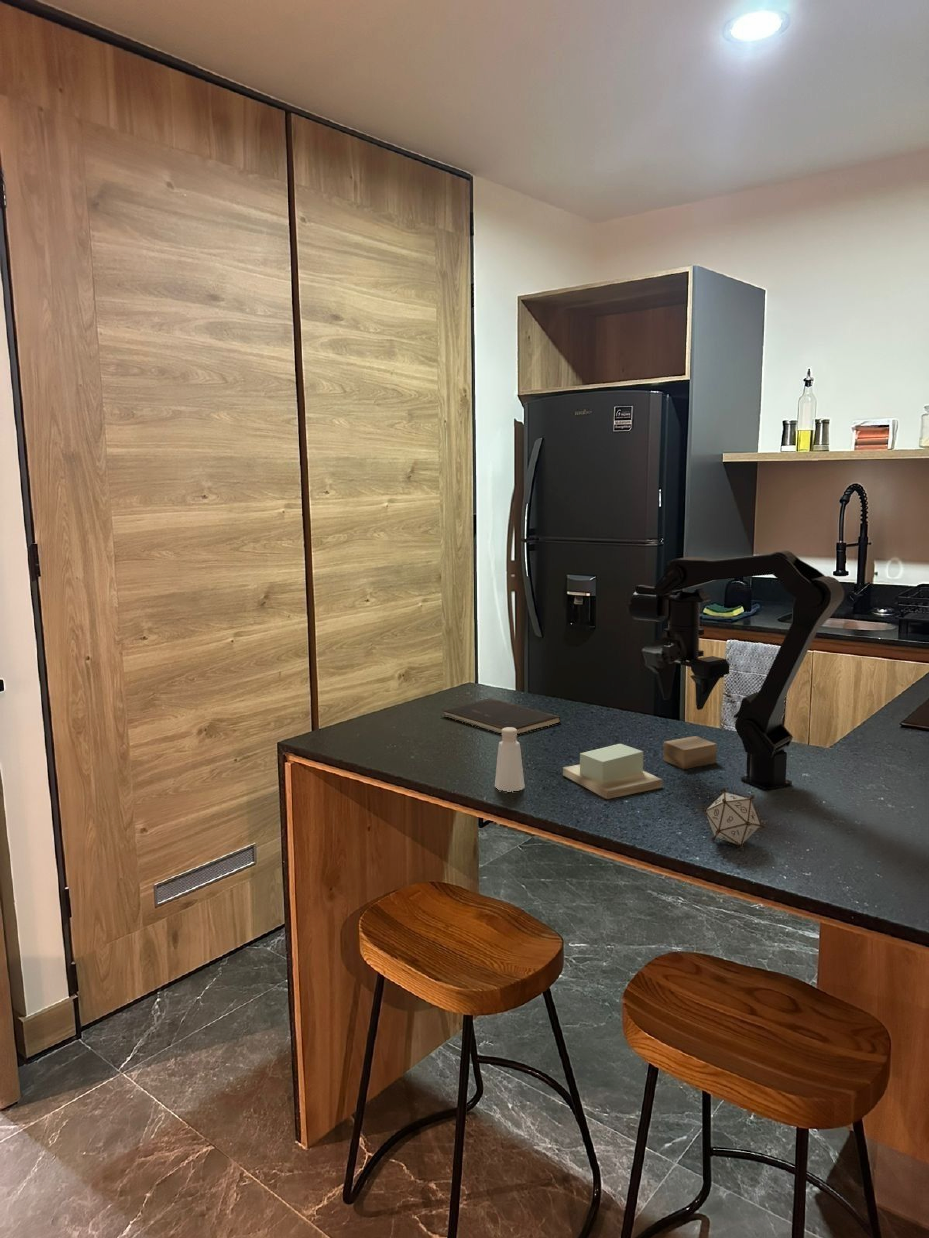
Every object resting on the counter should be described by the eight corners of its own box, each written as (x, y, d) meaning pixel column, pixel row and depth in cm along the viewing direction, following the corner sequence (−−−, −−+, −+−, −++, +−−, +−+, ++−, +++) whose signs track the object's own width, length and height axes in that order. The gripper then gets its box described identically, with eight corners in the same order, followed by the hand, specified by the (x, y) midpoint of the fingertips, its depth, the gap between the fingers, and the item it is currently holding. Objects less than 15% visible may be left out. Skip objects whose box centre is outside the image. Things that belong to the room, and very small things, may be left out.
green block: (642, 772, 160) (643, 751, 159) (602, 783, 154) (602, 761, 154) (619, 763, 165) (620, 743, 164) (579, 774, 159) (580, 753, 159)
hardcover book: (509, 740, 188) (509, 729, 187) (442, 719, 205) (441, 709, 205) (560, 725, 198) (560, 715, 198) (492, 706, 215) (492, 697, 215)
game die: (743, 865, 133) (787, 819, 130) (717, 862, 127) (763, 814, 124) (705, 821, 139) (747, 776, 136) (678, 817, 133) (721, 770, 130)
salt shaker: (488, 787, 158) (487, 728, 156) (510, 780, 161) (509, 722, 159) (508, 795, 154) (508, 735, 152) (530, 788, 157) (530, 729, 155)
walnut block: (716, 763, 169) (716, 743, 169) (683, 770, 166) (684, 750, 165) (695, 755, 175) (695, 735, 174) (663, 761, 171) (663, 741, 171)
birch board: (661, 787, 156) (662, 779, 156) (606, 799, 151) (606, 790, 151) (615, 765, 169) (615, 757, 168) (562, 775, 164) (563, 767, 163)
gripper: (618, 621, 169) (618, 700, 171) (685, 635, 153) (684, 721, 155) (662, 616, 174) (661, 692, 177) (732, 629, 158) (730, 712, 160)
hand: (682, 704), depth 167 cm, fingers open, 9 cm apart
